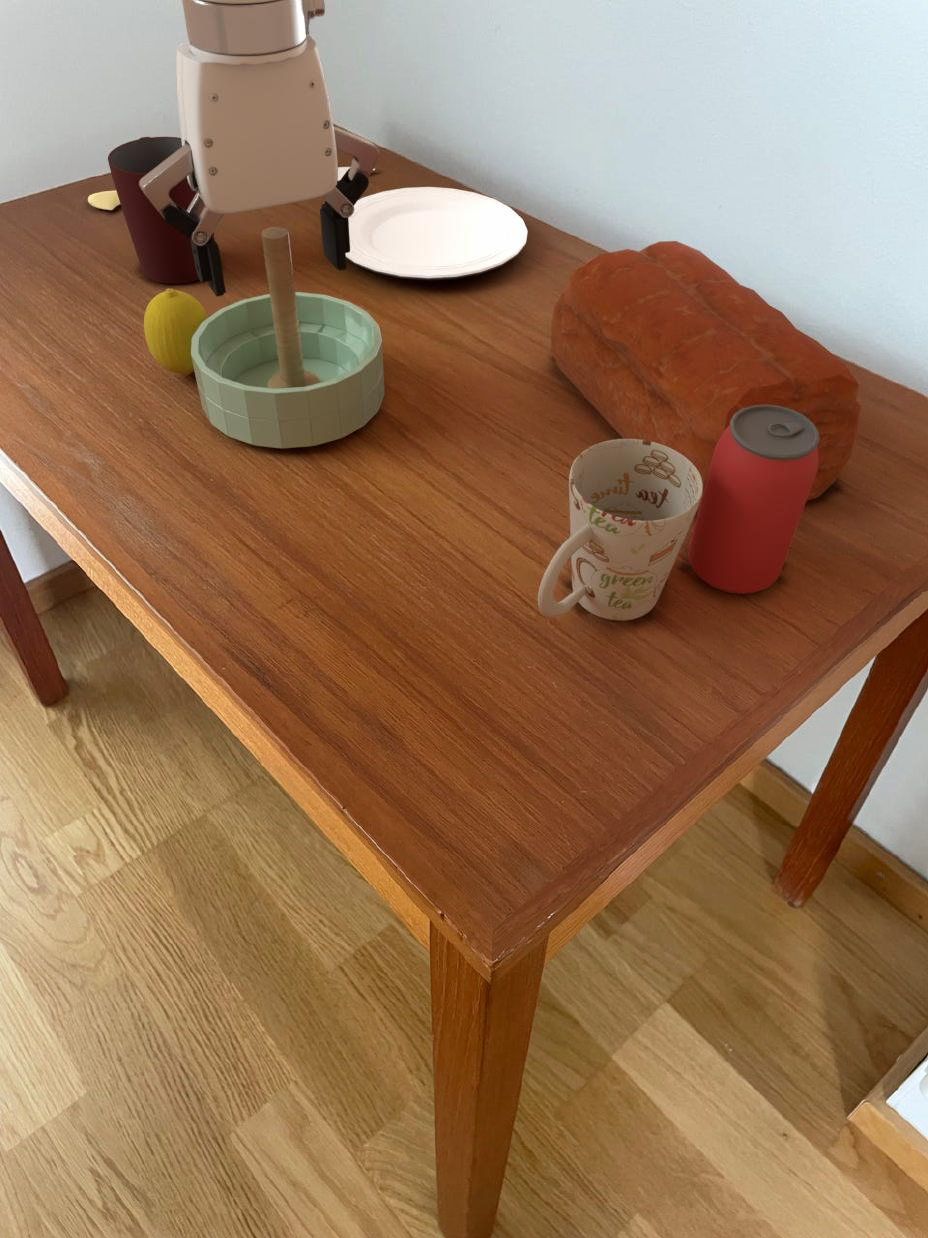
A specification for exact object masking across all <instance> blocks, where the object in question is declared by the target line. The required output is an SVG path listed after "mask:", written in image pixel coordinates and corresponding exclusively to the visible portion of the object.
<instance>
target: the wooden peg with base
mask: <svg viewBox="0 0 928 1238" xmlns="http://www.w3.org/2000/svg"><path fill="white" fill-rule="evenodd" d="M260 235H261V241H262V249H263V256H264V265H265V272H266V278H267V285H268V292H269V293H268V294H270V301H271V308H272V316H273V323H274V331H275V338H276V345H277V353H278V360H279V367H280V372H279V373H277V374H275V375H274V376H272V377H271V378H270V380H269V381H268V385H267V386H268V388H273V389H280V388H294V387H306V386H310V385H314V384H318V383H320V380H319V378H318V377H317V376H316V375H315V374H314V373H312V372H310V371H307V370H304V363H303V354H302V346H301V337H300V328H299V319H298V311H297V302H296V293H295V292H296V285H295V277H294V269H293V268H294V267H293V260H292V258H293V257H292V250H291V249H292V248H291V243H290V241H291V240H290V234H289V230H288V229H286V228H285V227H280V226H271V227H266V228H264V229H263V230H262V232H261V234H260Z"/></svg>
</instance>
